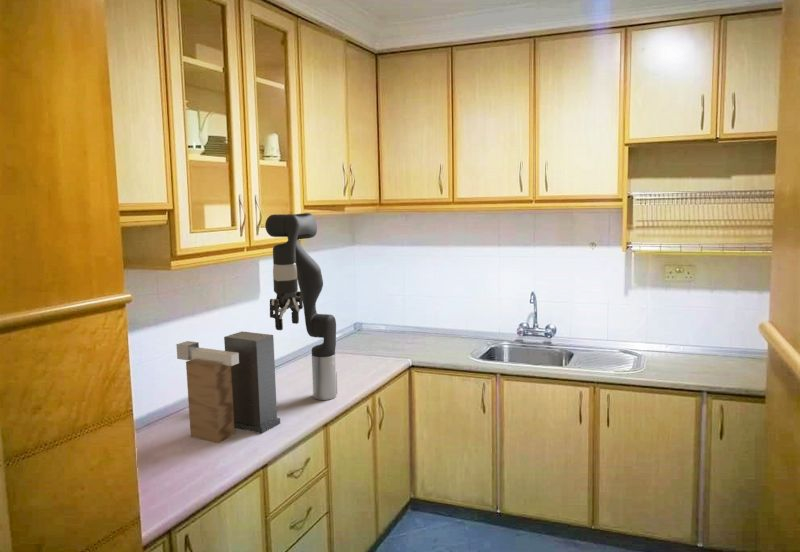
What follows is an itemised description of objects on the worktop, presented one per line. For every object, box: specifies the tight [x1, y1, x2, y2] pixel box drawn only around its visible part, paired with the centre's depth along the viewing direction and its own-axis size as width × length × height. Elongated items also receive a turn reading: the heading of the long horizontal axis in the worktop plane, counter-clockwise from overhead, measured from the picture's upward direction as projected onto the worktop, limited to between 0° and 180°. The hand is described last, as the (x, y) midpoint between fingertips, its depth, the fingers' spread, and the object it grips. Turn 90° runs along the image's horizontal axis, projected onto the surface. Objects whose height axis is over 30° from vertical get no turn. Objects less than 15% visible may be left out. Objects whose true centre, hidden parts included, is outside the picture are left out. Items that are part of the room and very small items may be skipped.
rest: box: [185, 360, 236, 444], centre depth 210 cm, size 8×12×26 cm, turn 63°
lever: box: [175, 340, 239, 366], centre depth 208 cm, size 5×23×5 cm, turn 63°
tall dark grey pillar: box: [223, 330, 281, 434], centre depth 219 cm, size 10×16×32 cm, turn 63°
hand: (287, 326), depth 202 cm, fingers open, 8 cm apart
